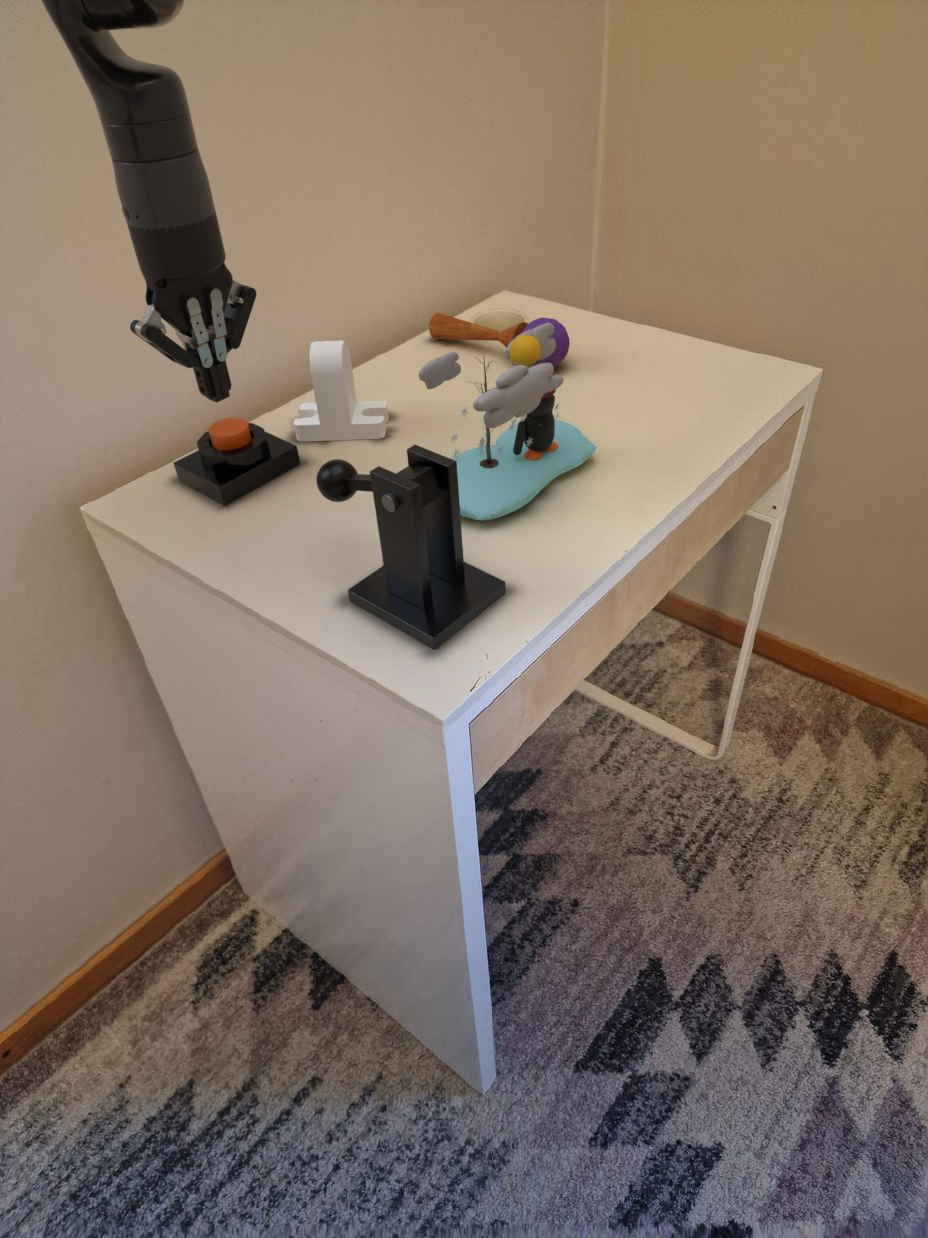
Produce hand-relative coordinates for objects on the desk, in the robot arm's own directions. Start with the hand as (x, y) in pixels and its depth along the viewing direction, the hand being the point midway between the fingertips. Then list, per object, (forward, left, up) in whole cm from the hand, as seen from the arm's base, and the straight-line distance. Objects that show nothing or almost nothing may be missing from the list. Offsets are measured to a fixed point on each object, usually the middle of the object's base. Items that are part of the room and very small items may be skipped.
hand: (218, 397), depth 85 cm
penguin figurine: (+16, -24, -9) cm, 30 cm away
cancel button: (0, 0, -5) cm, 5 cm away
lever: (-3, -26, -1) cm, 26 cm away
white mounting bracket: (+13, -2, -9) cm, 16 cm away
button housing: (0, 0, -9) cm, 9 cm away
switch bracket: (-3, -30, -9) cm, 32 cm away
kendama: (+38, -4, -9) cm, 39 cm away
